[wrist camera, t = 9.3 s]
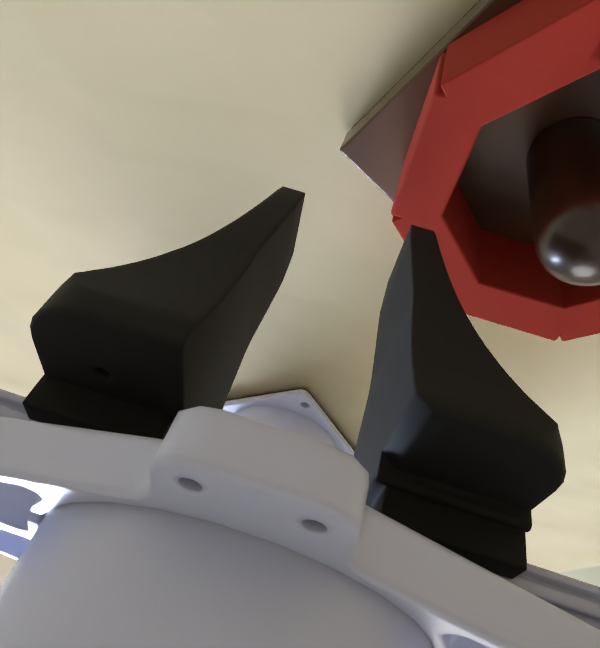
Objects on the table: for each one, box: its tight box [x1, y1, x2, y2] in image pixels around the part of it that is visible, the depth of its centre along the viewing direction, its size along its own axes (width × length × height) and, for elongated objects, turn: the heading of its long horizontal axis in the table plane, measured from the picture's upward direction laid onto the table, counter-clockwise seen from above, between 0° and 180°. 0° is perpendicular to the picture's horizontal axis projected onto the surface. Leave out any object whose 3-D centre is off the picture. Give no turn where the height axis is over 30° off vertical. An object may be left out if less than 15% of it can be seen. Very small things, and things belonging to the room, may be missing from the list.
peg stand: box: [340, 0, 600, 286], centre depth 14 cm, size 10×10×7 cm
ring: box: [391, 0, 600, 341], centre depth 14 cm, size 9×9×3 cm
